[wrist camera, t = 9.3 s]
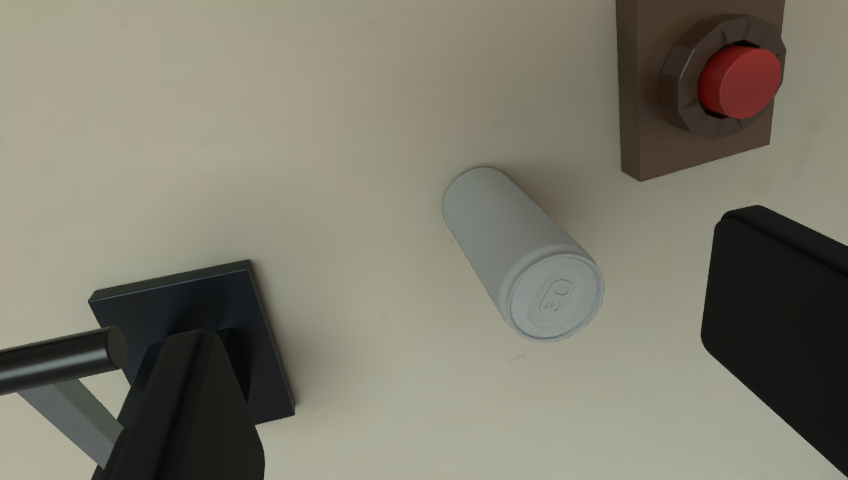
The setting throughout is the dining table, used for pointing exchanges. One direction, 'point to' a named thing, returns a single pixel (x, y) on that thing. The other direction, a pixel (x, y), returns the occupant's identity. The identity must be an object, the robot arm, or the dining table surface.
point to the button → (739, 81)
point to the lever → (68, 384)
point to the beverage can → (522, 257)
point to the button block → (686, 80)
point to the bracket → (190, 310)
